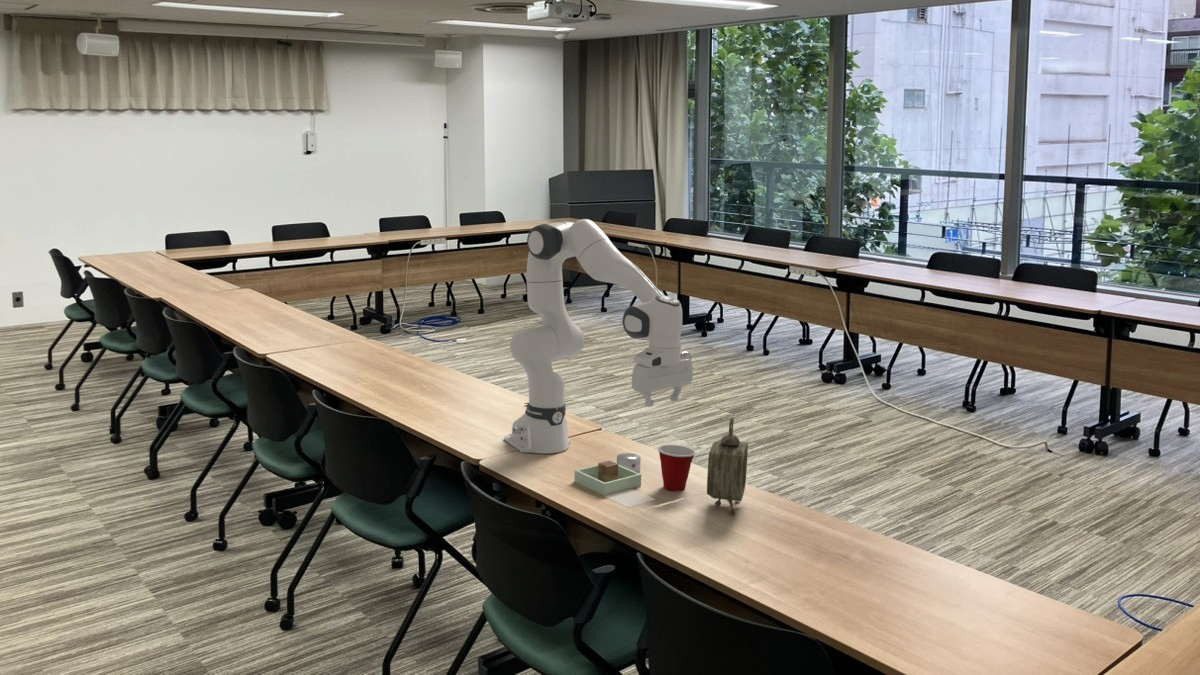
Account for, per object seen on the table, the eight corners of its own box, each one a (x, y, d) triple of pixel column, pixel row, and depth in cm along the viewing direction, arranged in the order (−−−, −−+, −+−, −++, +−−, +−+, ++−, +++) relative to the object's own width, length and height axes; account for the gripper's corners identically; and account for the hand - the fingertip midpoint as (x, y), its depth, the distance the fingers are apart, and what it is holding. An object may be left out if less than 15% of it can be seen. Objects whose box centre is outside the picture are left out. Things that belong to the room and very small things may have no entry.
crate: (574, 483, 292) (574, 470, 291) (610, 474, 300) (611, 461, 299) (604, 497, 282) (604, 483, 281) (640, 487, 290) (641, 474, 289)
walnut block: (597, 483, 291) (598, 463, 290) (608, 480, 293) (609, 460, 292) (606, 487, 288) (607, 466, 287) (617, 484, 290) (618, 464, 289)
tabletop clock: (739, 518, 269) (744, 427, 264) (704, 514, 271) (709, 424, 266) (744, 499, 283) (750, 412, 278) (712, 496, 285) (716, 409, 280)
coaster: (604, 498, 281) (604, 496, 281) (631, 490, 287) (631, 488, 287) (627, 509, 274) (627, 507, 273) (655, 501, 280) (655, 499, 280)
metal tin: (611, 472, 302) (611, 455, 301) (629, 467, 307) (629, 451, 306) (626, 478, 297) (627, 462, 296) (644, 474, 302) (645, 457, 300)
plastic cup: (702, 491, 288) (704, 450, 286) (672, 498, 282) (674, 457, 280) (677, 480, 297) (678, 440, 295) (647, 486, 291) (649, 446, 288)
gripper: (683, 348, 291) (680, 395, 294) (629, 357, 278) (627, 406, 281) (699, 353, 286) (696, 400, 289) (645, 362, 273) (642, 411, 276)
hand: (661, 403), depth 285 cm, fingers open, 8 cm apart
